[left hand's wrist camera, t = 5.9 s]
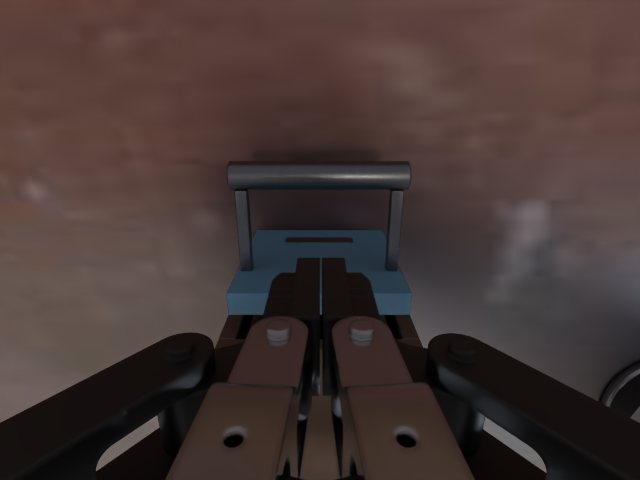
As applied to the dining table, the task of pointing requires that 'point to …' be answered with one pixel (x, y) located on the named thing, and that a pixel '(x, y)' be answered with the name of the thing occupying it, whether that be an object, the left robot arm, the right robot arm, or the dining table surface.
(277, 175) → the drawer
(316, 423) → the cabinet
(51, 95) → the dining table surface
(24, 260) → the dining table surface
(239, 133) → the dining table surface
